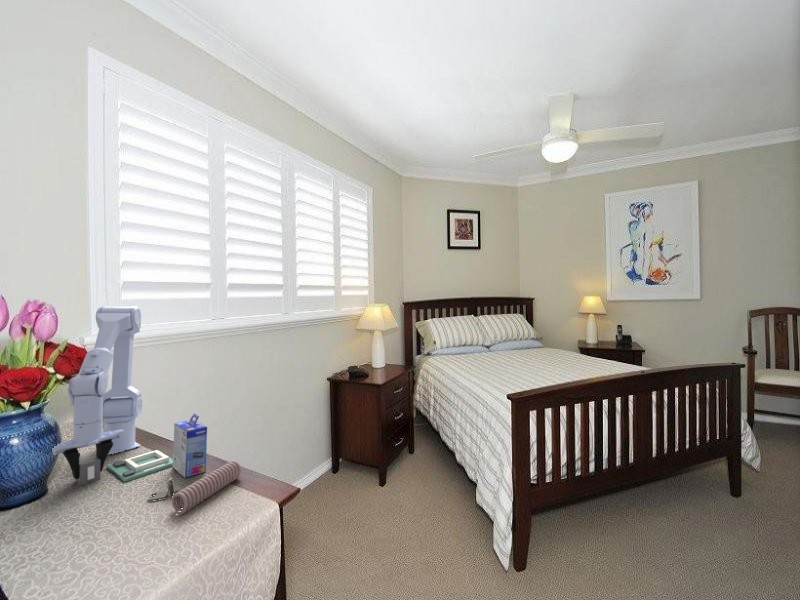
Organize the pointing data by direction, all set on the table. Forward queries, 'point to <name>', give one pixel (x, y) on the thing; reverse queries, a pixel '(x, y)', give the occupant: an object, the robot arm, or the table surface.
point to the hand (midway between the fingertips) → (87, 474)
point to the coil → (205, 487)
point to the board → (140, 465)
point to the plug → (89, 470)
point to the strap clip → (164, 492)
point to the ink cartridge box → (190, 447)
